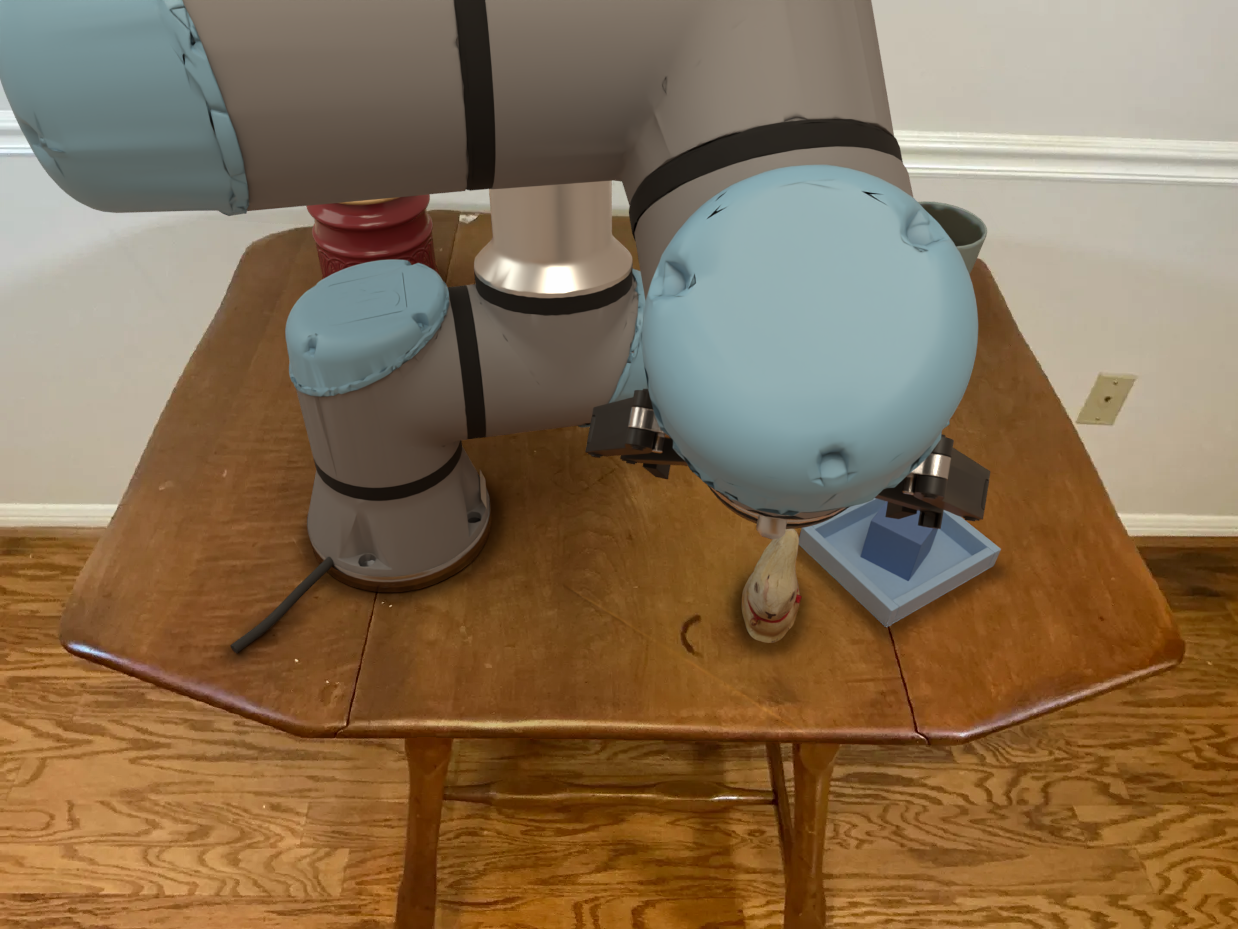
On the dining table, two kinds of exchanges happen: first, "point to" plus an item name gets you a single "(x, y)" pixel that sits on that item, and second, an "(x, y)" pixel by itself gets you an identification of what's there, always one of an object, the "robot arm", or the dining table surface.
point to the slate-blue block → (897, 543)
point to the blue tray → (881, 591)
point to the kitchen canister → (373, 232)
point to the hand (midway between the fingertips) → (778, 475)
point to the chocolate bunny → (773, 591)
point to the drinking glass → (960, 229)
